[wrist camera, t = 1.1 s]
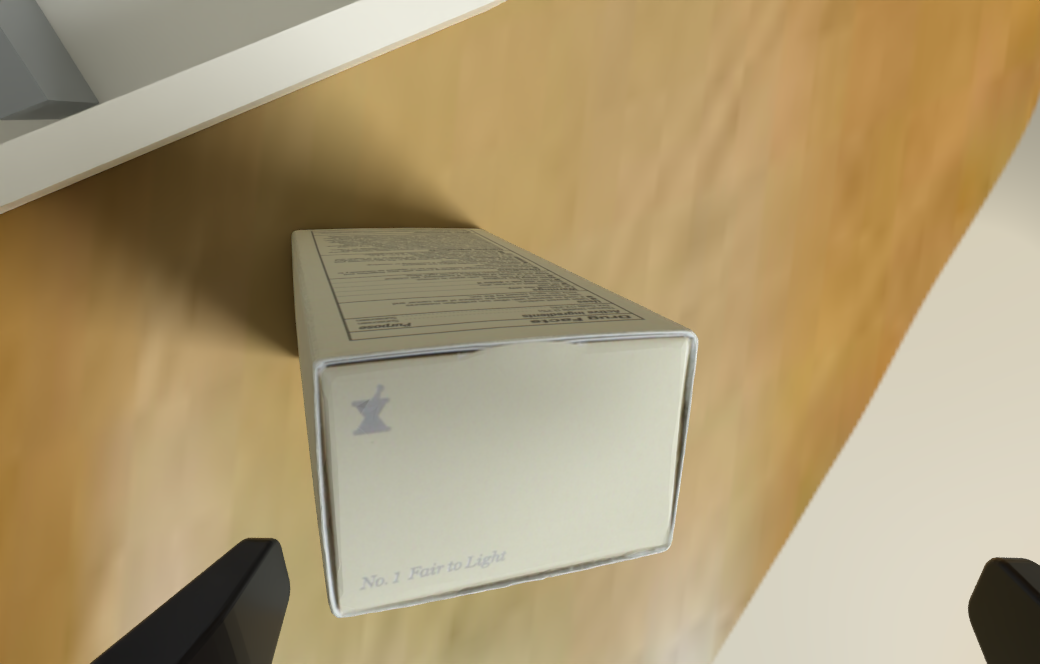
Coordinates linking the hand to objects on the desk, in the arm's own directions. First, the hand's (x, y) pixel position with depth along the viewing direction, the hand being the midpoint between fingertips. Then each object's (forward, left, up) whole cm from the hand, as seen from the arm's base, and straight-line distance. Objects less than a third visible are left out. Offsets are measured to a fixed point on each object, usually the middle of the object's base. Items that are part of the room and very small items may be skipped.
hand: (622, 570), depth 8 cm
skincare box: (-1, 0, -15) cm, 15 cm away
